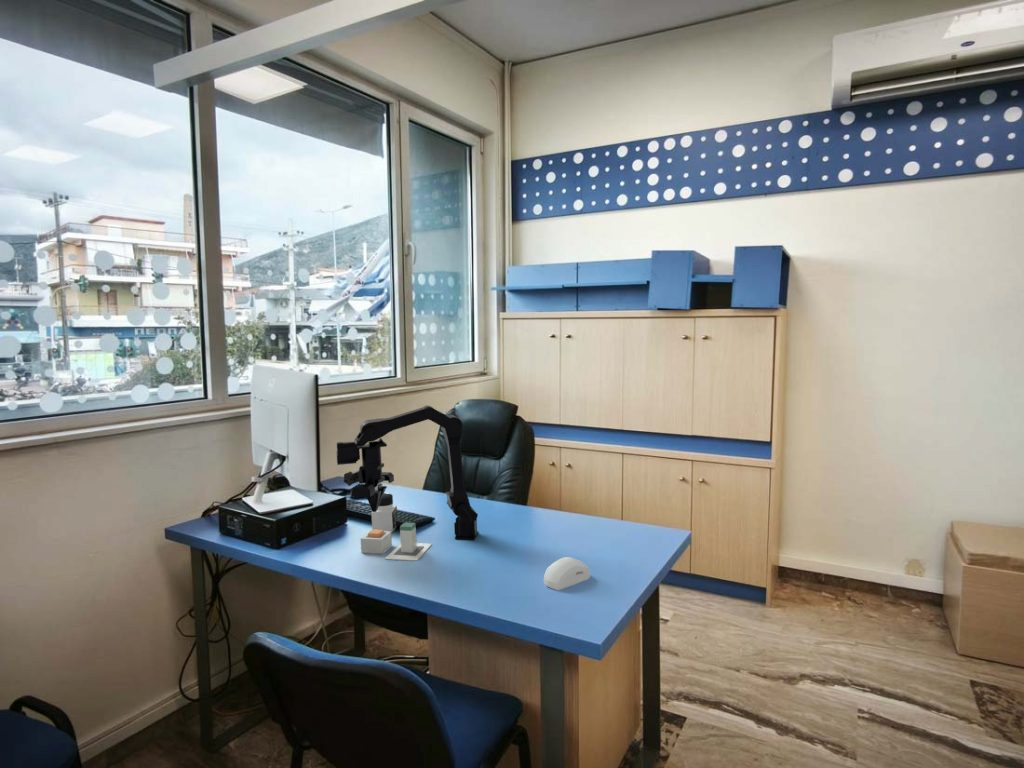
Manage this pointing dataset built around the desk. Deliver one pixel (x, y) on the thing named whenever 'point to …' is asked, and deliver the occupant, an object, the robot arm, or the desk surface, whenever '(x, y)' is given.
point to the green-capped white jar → (408, 537)
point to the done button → (375, 533)
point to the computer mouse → (566, 573)
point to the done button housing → (376, 543)
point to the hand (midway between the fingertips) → (374, 511)
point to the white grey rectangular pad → (414, 556)
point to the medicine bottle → (385, 514)
